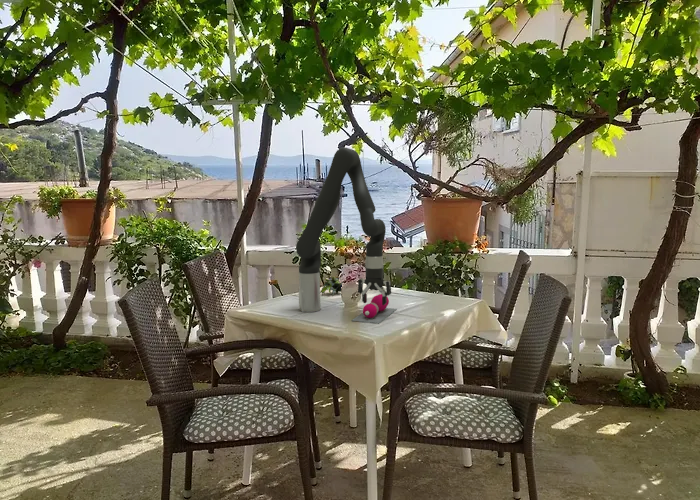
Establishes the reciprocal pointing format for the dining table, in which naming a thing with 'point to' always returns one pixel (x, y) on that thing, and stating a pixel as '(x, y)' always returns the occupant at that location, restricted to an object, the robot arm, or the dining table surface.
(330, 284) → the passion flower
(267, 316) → the dining table surface
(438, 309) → the dining table surface
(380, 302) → the pepper mill
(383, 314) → the mat
